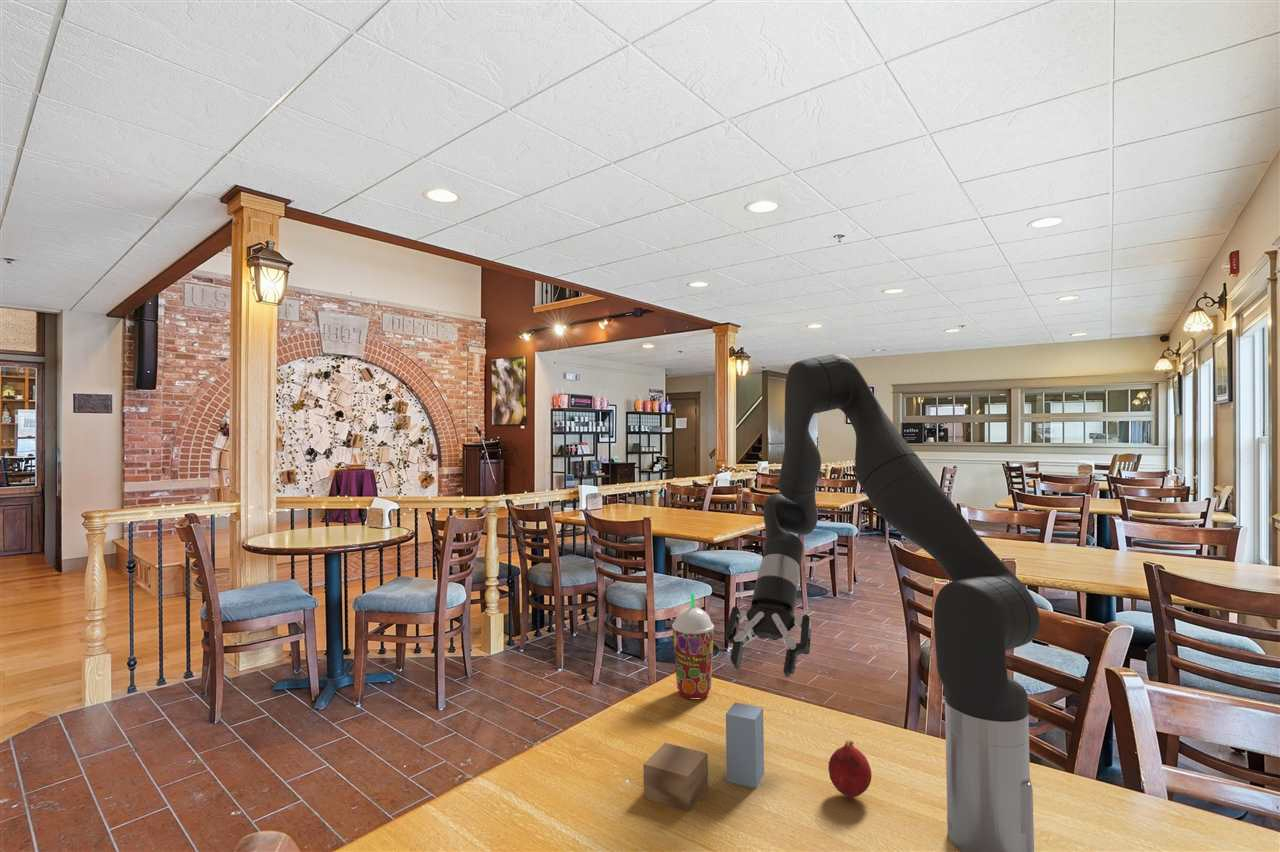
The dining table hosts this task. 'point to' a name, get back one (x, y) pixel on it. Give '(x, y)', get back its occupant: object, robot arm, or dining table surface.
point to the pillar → (744, 744)
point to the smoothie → (693, 651)
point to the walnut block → (676, 776)
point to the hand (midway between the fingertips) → (760, 670)
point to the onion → (849, 770)
